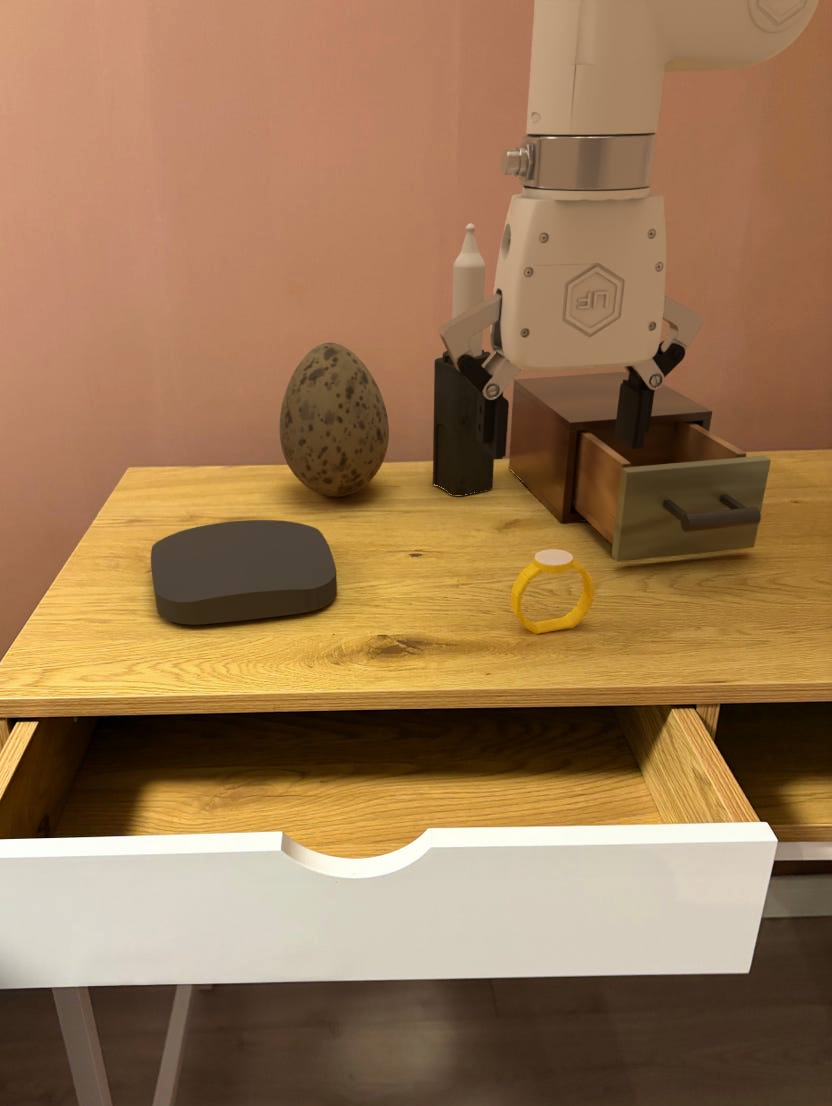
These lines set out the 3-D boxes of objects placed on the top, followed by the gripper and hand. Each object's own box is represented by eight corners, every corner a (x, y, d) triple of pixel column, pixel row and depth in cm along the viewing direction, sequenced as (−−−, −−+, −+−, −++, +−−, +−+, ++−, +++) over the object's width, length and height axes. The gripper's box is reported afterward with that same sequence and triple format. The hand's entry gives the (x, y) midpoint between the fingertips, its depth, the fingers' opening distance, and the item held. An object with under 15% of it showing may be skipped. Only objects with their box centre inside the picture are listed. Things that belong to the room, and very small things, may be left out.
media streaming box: (156, 634, 74) (152, 599, 72) (153, 557, 86) (149, 526, 85) (346, 613, 76) (344, 578, 75) (315, 541, 89) (314, 510, 87)
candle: (428, 483, 101) (431, 223, 89) (469, 474, 103) (478, 219, 91) (454, 498, 97) (462, 228, 85) (497, 489, 99) (510, 223, 87)
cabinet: (697, 510, 93) (712, 411, 88) (561, 523, 91) (569, 422, 86) (628, 458, 106) (638, 370, 101) (508, 469, 104) (513, 379, 100)
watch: (580, 615, 75) (587, 544, 72) (594, 632, 72) (602, 559, 69) (505, 624, 74) (509, 552, 71) (517, 641, 71) (522, 568, 69)
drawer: (786, 571, 79) (806, 479, 75) (642, 587, 77) (654, 493, 73) (675, 489, 95) (686, 411, 91) (554, 500, 93) (561, 420, 90)
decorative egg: (266, 488, 101) (255, 340, 94) (357, 469, 105) (354, 326, 98) (312, 521, 93) (304, 362, 85) (409, 499, 97) (409, 346, 90)
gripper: (464, 177, 53) (452, 475, 62) (754, 169, 56) (706, 456, 64) (430, 169, 60) (424, 440, 68) (692, 162, 62) (655, 424, 71)
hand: (561, 448), depth 66 cm, fingers open, 9 cm apart
